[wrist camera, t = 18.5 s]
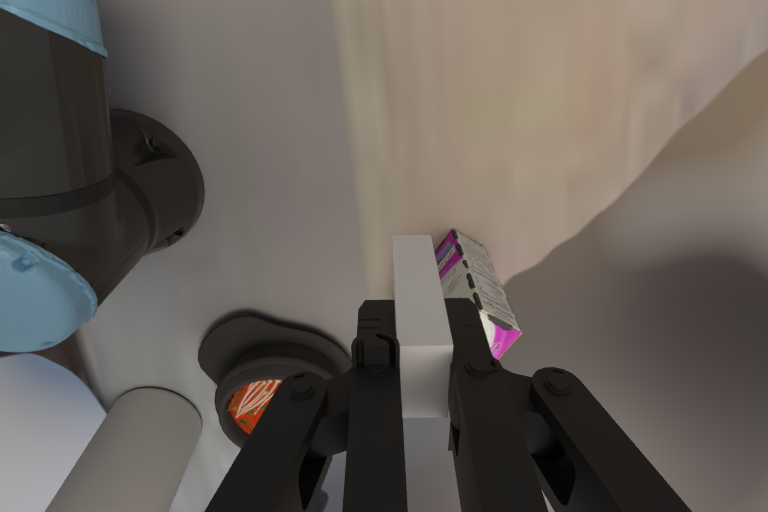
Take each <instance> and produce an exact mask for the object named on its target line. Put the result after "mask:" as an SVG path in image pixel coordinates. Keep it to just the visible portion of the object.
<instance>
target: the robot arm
mask: <svg viewBox="0 0 768 512" xmlns="http://www.w3.org/2000/svg"><path fill="white" fill-rule="evenodd" d="M104 58H108V53H107V50H106V49H105V48H104V47H103V40H102V33H101V26H100V19H99V12H98V6H97V3H96V0H0V351H6V352H31V351H38V350H42V349H46V348H49V347H52V346H54V345H56V344H58V343H60V342H62V341H63V340H65V339H66V338H68V337H69V336H70V335H71V334H72V333H73V332H74V331H75V330H76V329H77V328H79V327H80V326H81V325H82V324H83V323H85V322H87V321H89V320H90V319H91V318H92V317H93V316H94V314H95V312H96V311H97V308H98V307H99V306H100V305H101V304H102V302H103V301H104V300H105V299H106V298H107V297H108V295H109V294H110V293H111V292H112V291H113V290H114V289H115V288H116V286H117V285H118V284H119V283H120V282H121V281H122V280H123V279H124V277H125V276H126V275H127V274H128V273H129V272H130V271H131V269H132V268H133V267H134V266H135V265H136V264H137V263H138V262H139V260H140V259H141V258H142V257H143V256H145V255H148V254H150V253H153V252H156V251H158V250H161V249H164V248H166V247H169V246H171V245H172V244H174V243H176V242H177V241H179V240H180V239H181V238H182V237H183V236H184V235H185V234H186V233H187V232H188V231H189V230H190V229H191V227H192V226H193V225H194V224H195V222H196V221H197V219H198V217H199V215H200V213H201V211H202V207H203V203H204V183H203V178H202V175H201V172H200V169H199V166H198V164H197V162H196V160H195V158H194V157H193V155H192V154H191V152H190V151H189V149H188V148H187V147H186V145H185V144H184V143H183V142H182V141H181V140H180V139H179V138H178V137H177V136H176V135H175V134H174V133H173V132H171V131H170V130H169V129H168V128H166V127H165V126H163V125H162V124H160V123H159V122H157V121H155V120H153V119H151V118H149V117H146V116H144V115H141V114H138V113H135V112H131V111H125V110H109V101H108V90H107V80H106V70H105V59H104ZM392 294H393V300H365V301H364V303H363V304H362V305H361V307H360V308H359V312H358V326H357V337H356V338H355V339H354V340H353V343H352V345H351V351H352V367H351V368H350V369H349V370H348V371H347V372H346V373H344V374H342V375H341V376H338V377H335V378H332V379H328V380H325V379H324V378H322V377H321V376H320V375H319V374H316V373H313V372H299V373H295V374H292V375H290V376H288V377H287V378H285V379H284V380H283V381H282V382H281V383H280V384H279V386H278V388H277V389H276V391H275V393H274V394H273V396H272V398H271V399H270V401H269V403H268V405H267V406H266V408H265V410H264V411H263V413H262V415H261V416H260V418H259V420H258V422H257V423H256V425H255V427H254V428H253V430H252V432H251V433H250V435H249V437H248V439H247V440H246V442H245V444H244V445H243V447H242V449H241V450H240V452H239V454H238V456H237V457H236V459H235V461H234V462H233V464H232V466H231V467H230V469H229V471H228V473H227V474H226V476H225V478H224V479H223V481H222V483H221V484H220V486H219V488H218V490H217V491H216V493H215V495H214V496H213V498H212V500H211V501H210V503H209V505H208V507H207V508H206V510H205V512H312V511H313V508H314V505H315V503H316V500H317V497H318V495H319V492H320V490H321V487H322V484H323V482H324V479H325V476H326V474H327V471H328V468H329V466H330V463H331V461H332V457H333V455H334V454H337V453H341V452H344V451H347V455H346V469H345V483H344V498H343V511H342V512H408V510H407V491H406V474H405V457H404V456H405V454H404V436H403V418H437V417H438V418H440V417H448V409H449V412H450V419H451V422H450V434H449V446H448V450H449V451H452V452H453V458H454V465H455V471H456V478H457V484H458V491H459V498H460V504H461V511H462V512H548V509H547V506H546V503H545V500H544V497H543V493H542V491H543V492H544V494H545V496H546V497H547V499H548V501H549V503H550V504H551V506H552V508H553V509H554V511H555V512H692V511H691V510H690V509H689V508H688V507H687V505H686V504H685V503H684V502H683V501H682V500H681V498H680V497H679V496H678V495H677V494H676V492H675V491H674V490H673V489H672V488H671V487H670V485H669V484H668V483H667V482H666V481H665V480H664V478H663V477H662V476H661V475H660V474H659V472H658V471H657V470H656V469H655V468H654V467H653V465H652V464H651V463H650V462H649V461H648V460H647V458H646V457H645V456H644V455H643V454H642V452H640V450H639V449H638V448H637V447H636V446H635V444H634V443H633V442H632V441H631V440H630V438H629V437H628V436H627V435H626V434H625V433H624V431H623V430H622V429H621V428H620V427H619V425H617V423H616V422H615V421H614V420H613V419H612V417H611V416H610V415H609V414H608V413H607V411H606V410H605V409H604V408H603V407H602V405H601V404H600V403H599V402H598V401H597V400H596V398H595V397H594V396H593V395H592V394H591V393H590V391H589V390H588V389H587V388H586V387H585V386H584V384H583V383H582V382H581V381H580V380H579V379H578V378H577V377H576V376H575V375H573V374H572V373H570V372H568V371H565V370H564V369H560V368H555V367H547V368H542V369H540V370H537V371H536V372H535V374H534V375H533V377H528V376H523V375H519V374H515V373H512V372H510V371H508V370H506V369H504V368H502V366H501V364H500V363H499V361H498V360H497V359H496V358H494V357H493V356H492V353H491V349H490V346H489V343H488V340H487V336H486V333H485V330H484V327H483V323H482V320H481V318H480V313H479V310H478V307H477V306H476V305H475V304H474V303H473V302H472V301H471V300H470V299H469V298H444V297H443V292H442V287H441V282H440V278H439V273H438V268H437V263H436V258H435V253H434V248H433V243H432V238H431V235H392ZM541 489H542V490H541Z"/></svg>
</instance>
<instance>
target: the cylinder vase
mask: <svg viewBox="0 0 768 512" xmlns="http://www.w3.org/2000/svg"><path fill="white" fill-rule="evenodd" d="M201 429H202V423H201V418H200V416H199V414H198V412H197V410H196V409H195V408H194V406H193V405H192V404H191V403H190V402H188V401H187V400H186V399H184V398H183V397H181V396H179V395H177V394H175V393H173V392H170V391H167V390H163V389H157V388H142V389H136V390H133V391H130V392H128V393H126V394H124V395H123V396H121V397H120V398H119V399H118V400H117V401H116V402H115V404H114V405H113V407H112V408H111V410H110V411H109V413H108V415H107V416H106V418H105V419H104V421H103V422H102V424H101V425H100V427H99V428H98V430H97V432H96V433H95V435H94V436H93V438H92V440H91V441H90V442H89V444H88V445H87V447H86V449H85V450H84V452H83V453H82V455H81V456H80V458H79V459H78V461H77V463H76V464H75V466H74V467H73V469H72V470H71V472H70V473H69V475H68V476H67V478H66V480H65V481H64V483H63V484H62V486H61V487H60V489H59V491H58V492H57V494H56V495H55V497H54V498H53V500H52V501H51V503H50V505H49V506H48V507H47V509H46V511H45V512H169V509H170V507H171V504H172V502H173V499H174V497H175V495H176V492H177V490H178V487H179V485H180V482H181V480H182V477H183V475H184V473H185V470H186V468H187V465H188V463H189V460H190V458H191V455H192V453H193V450H194V448H195V446H196V443H197V441H198V438H199V436H200V433H201Z"/></svg>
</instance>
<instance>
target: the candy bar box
mask: <svg viewBox="0 0 768 512" xmlns="http://www.w3.org/2000/svg"><path fill="white" fill-rule="evenodd" d="M435 258H436V263H437V268H438V273H439V278H440V282H441V287H442V292H443V297H444V298H469V299H470V300H471V301H472V302H473V303H474V304H475V305H476V306H477V307H478V310H479V313H480V318H481V320H482V323H483V327H484V330H485V333H486V336H487V340H488V343H489V346H490V349H491V353H492V356H493V357H494V358H496V359H497V360H498V359H499V358H500V357H501V356H502V354H503V353H504V352H505V351H506V350H507V349H508V348H509V347H510V346H511V345H512V344H513V343H514V341H515V340H516V339H517V338H518V337H519V336H520V335H521V334H522V331H521V329H520V327H519V325H518V323H517V320H516V318H515V316H514V314H513V311H512V309H511V307H510V305H509V302H508V300H507V298H506V295H505V293H504V291H503V289H502V287H501V284H500V282H499V279H498V277H497V275H496V273H495V270H494V268H493V266H492V263H491V261H490V259H489V257H488V254H487V252H486V250H485V248H484V247H483V246H482V245H480V244H478V243H477V242H475V241H473V240H471V239H469V238H468V237H466V236H464V235H463V234H461V233H459V232H458V231H456V230H454V229H452V230H451V232H450V233H449V234H448V236H447V237H446V238H445V240H444V241H443V242H442V244H441V245H440V247H439V248H438V249H437V251H436V252H435Z"/></svg>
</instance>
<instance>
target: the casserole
mask: <svg viewBox="0 0 768 512" xmlns="http://www.w3.org/2000/svg"><path fill="white" fill-rule="evenodd" d="M198 361H199V364H200V367H201V369H202V370H203V371H204V372H205V373H206V374H207V375H208V376H209V377H210V378H211V379H212V380H213V381H214V382H215V383H216V384H217V385H218V387H217V389H216V393H215V407H216V411H217V414H218V416H219V422H220V425H221V427H222V430H223V431H224V433H225V434H226V435H227V437H228V438H229V439H230V440H231V441H232V442H233V443H234V444H235V445H237V446H238V447H240V448H241V449H242V447H243V445H244V444H245V442H246V440H247V439H248V437H249V435H250V433H251V432H252V430H253V428H254V427H255V425H256V423H257V422H258V420H259V418H260V416H261V415H262V413H263V411H264V410H265V408H266V406H267V405H268V403H269V401H270V399H271V398H272V396H273V394H274V393H275V391H276V389H277V388H278V386H279V384H280V383H281V382H282V381H283V380H284V379H285V378H287V377H288V376H290V375H292V374H295V373H299V372H313V373H316V374H319V375H320V376H321V377H322V378H324V379H325V380H328V379H332V378H335V377H338V376H341V375H342V374H344V373H346V372H347V371H348V370H349V369H350V368H351V367H352V361H351V360H350V358H349V357H348V356H347V355H346V353H345V352H344V351H343V350H342V349H340V348H339V347H338V346H337V345H336V344H334V343H333V342H331V341H329V340H328V339H326V338H324V337H322V336H320V335H317V334H314V333H312V332H309V331H304V330H299V329H294V328H289V327H284V326H280V325H277V324H274V323H271V322H268V321H265V320H263V319H260V318H257V317H254V316H239V317H236V318H232V319H229V320H227V321H225V322H223V323H221V324H219V325H218V326H217V327H216V328H214V329H213V330H212V331H211V332H209V334H208V335H207V336H206V338H205V339H204V340H203V342H202V344H201V347H200V349H199V354H198Z"/></svg>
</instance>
